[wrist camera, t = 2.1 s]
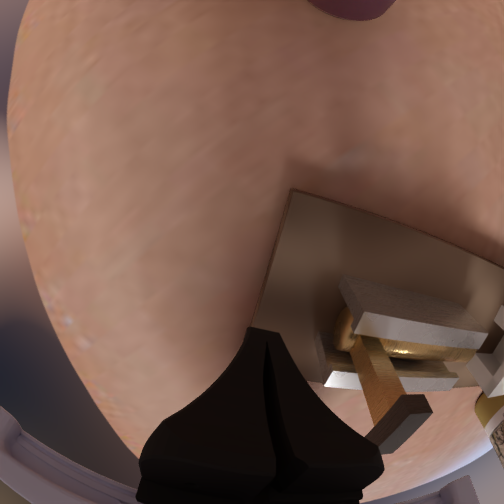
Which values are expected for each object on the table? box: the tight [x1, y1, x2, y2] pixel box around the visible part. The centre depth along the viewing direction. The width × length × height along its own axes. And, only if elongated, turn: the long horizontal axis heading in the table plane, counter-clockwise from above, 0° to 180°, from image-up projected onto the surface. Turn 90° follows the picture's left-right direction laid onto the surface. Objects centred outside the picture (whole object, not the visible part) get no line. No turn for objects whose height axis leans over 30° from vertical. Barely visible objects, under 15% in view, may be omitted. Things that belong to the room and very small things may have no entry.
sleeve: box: [314, 274, 488, 392], centre depth 14 cm, size 5×10×4 cm, turn 76°
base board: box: [250, 188, 504, 388], centre depth 17 cm, size 12×27×2 cm, turn 76°
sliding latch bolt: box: [333, 307, 477, 454], centre depth 11 cm, size 3×11×8 cm, turn 76°
